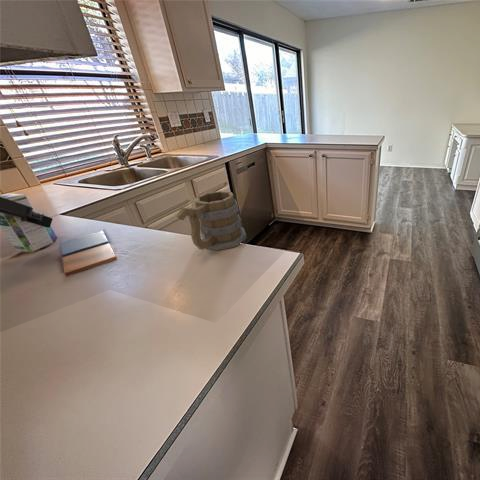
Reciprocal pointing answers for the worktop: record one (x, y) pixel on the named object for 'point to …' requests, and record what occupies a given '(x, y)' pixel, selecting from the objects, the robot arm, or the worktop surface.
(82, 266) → the amber mat
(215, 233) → the tankard
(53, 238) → the flask
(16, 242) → the syrup box
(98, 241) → the slate mat
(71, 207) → the worktop surface
